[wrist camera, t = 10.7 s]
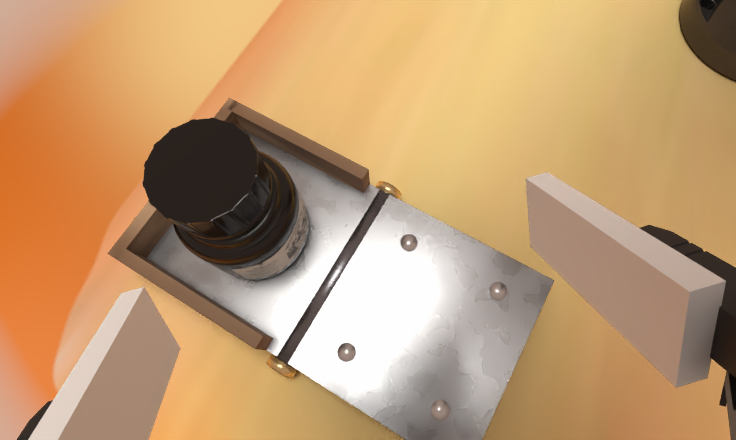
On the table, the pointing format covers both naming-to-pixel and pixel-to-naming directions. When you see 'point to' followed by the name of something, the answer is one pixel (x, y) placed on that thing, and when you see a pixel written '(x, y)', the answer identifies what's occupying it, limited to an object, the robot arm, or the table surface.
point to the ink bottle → (227, 199)
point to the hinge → (384, 307)
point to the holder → (154, 225)
